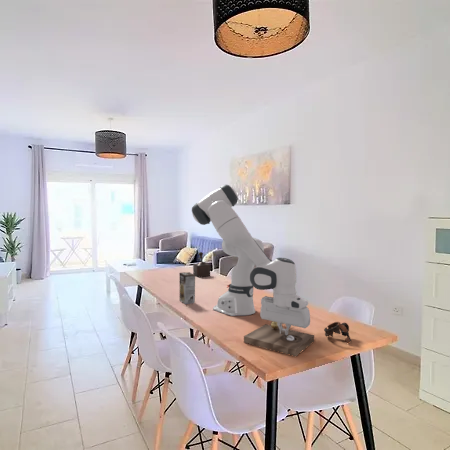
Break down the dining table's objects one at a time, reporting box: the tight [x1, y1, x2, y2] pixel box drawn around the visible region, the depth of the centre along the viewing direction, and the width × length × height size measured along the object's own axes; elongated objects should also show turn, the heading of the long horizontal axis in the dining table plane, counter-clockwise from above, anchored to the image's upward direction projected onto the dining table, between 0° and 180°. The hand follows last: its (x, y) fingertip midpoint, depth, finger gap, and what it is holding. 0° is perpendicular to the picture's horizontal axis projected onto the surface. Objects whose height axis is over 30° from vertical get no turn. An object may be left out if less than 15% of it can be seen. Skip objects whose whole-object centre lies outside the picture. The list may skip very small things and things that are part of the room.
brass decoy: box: [270, 321, 278, 329], centre depth 143 cm, size 4×4×4 cm
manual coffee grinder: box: [192, 251, 211, 279], centre depth 271 cm, size 16×11×18 cm
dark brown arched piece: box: [323, 321, 352, 344], centre depth 139 cm, size 12×10×8 cm
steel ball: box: [286, 335, 295, 341], centre depth 132 cm, size 4×4×4 cm
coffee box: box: [179, 271, 196, 305], centre depth 193 cm, size 9×6×16 cm
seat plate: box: [243, 323, 315, 357], centre depth 135 cm, size 22×18×2 cm
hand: (283, 334), depth 134 cm, fingers closed
